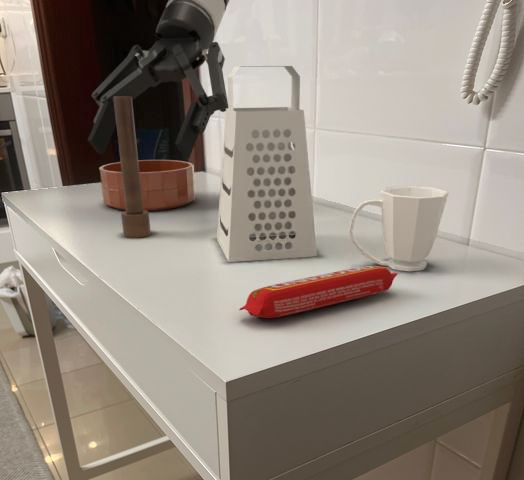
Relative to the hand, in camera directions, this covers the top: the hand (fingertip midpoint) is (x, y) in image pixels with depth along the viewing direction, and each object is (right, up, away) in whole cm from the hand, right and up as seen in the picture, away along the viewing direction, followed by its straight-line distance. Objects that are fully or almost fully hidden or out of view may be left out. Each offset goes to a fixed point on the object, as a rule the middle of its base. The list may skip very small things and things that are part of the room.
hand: (137, 149), depth 72 cm
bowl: (-3, -1, +23) cm, 23 cm away
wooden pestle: (-1, -10, +3) cm, 11 cm away
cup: (+31, -17, -10) cm, 36 cm away
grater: (+16, -13, -3) cm, 21 cm away
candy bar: (+22, -22, -21) cm, 37 cm away
